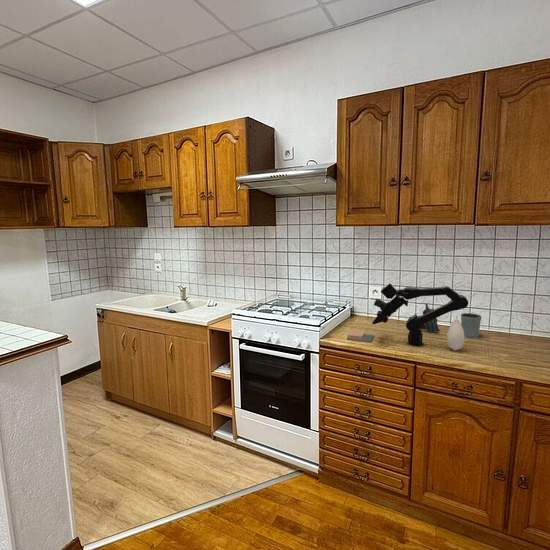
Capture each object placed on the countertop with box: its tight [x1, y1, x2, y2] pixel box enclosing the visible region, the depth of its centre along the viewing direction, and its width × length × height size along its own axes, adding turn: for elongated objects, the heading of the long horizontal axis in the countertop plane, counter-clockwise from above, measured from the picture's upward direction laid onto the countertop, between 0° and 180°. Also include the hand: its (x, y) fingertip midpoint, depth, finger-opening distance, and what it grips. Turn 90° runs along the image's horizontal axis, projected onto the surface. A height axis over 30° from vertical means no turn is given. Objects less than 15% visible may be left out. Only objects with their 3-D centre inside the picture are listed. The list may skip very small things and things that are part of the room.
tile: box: [347, 329, 366, 340], centre depth 197 cm, size 2×10×8 cm
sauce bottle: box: [446, 315, 465, 351], centre depth 174 cm, size 8×8×18 cm
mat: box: [346, 333, 375, 344], centre depth 196 cm, size 13×12×1 cm
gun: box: [421, 303, 441, 333], centre depth 207 cm, size 3×17×15 cm
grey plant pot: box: [460, 312, 482, 339], centre depth 197 cm, size 10×10×12 cm
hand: (372, 323), depth 193 cm, fingers closed
